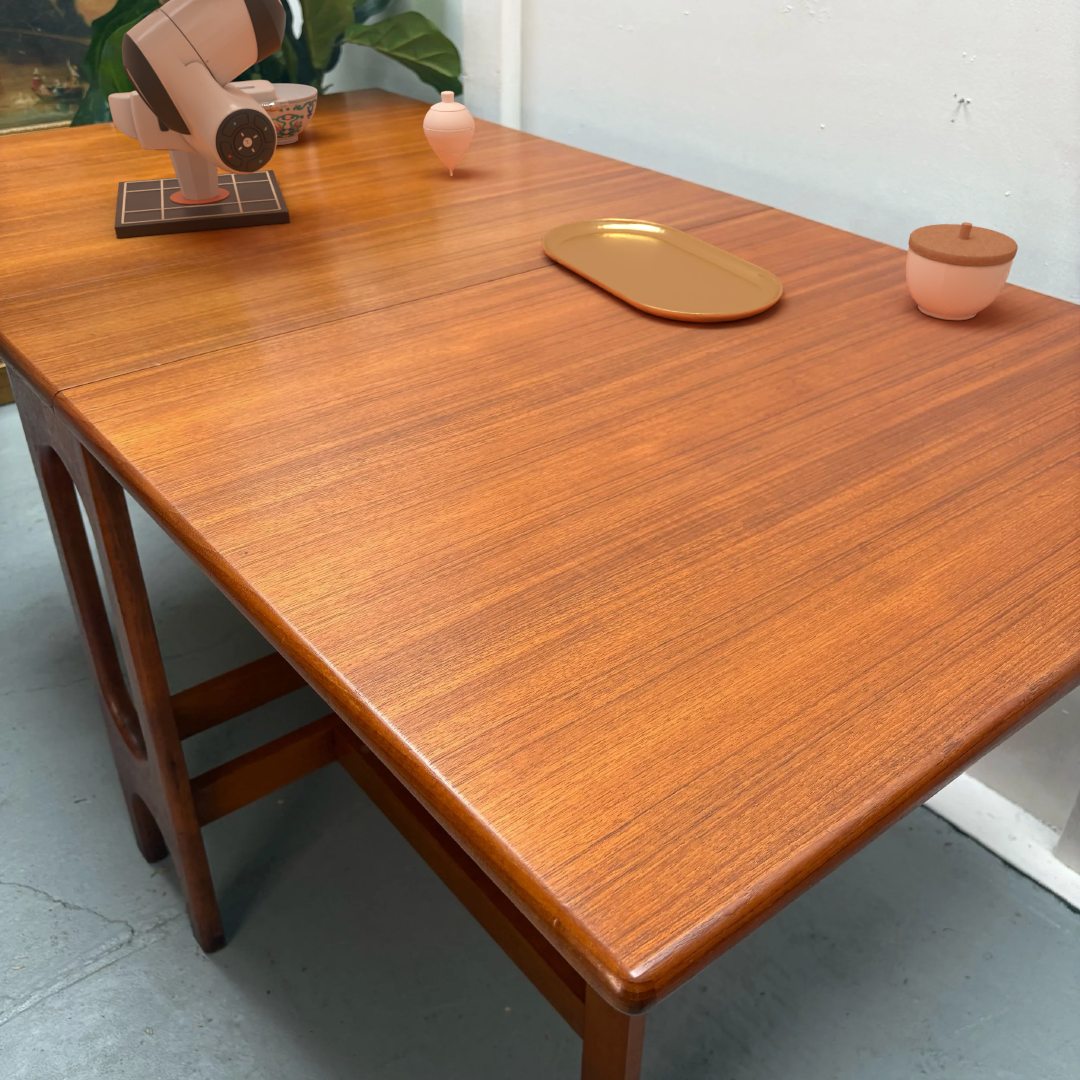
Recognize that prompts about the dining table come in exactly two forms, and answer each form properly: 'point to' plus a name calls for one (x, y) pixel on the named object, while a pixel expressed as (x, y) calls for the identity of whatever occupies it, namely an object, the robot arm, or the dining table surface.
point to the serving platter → (663, 269)
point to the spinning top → (449, 130)
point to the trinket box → (957, 268)
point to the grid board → (198, 205)
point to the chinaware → (294, 111)
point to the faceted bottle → (195, 175)
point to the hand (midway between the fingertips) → (182, 94)
